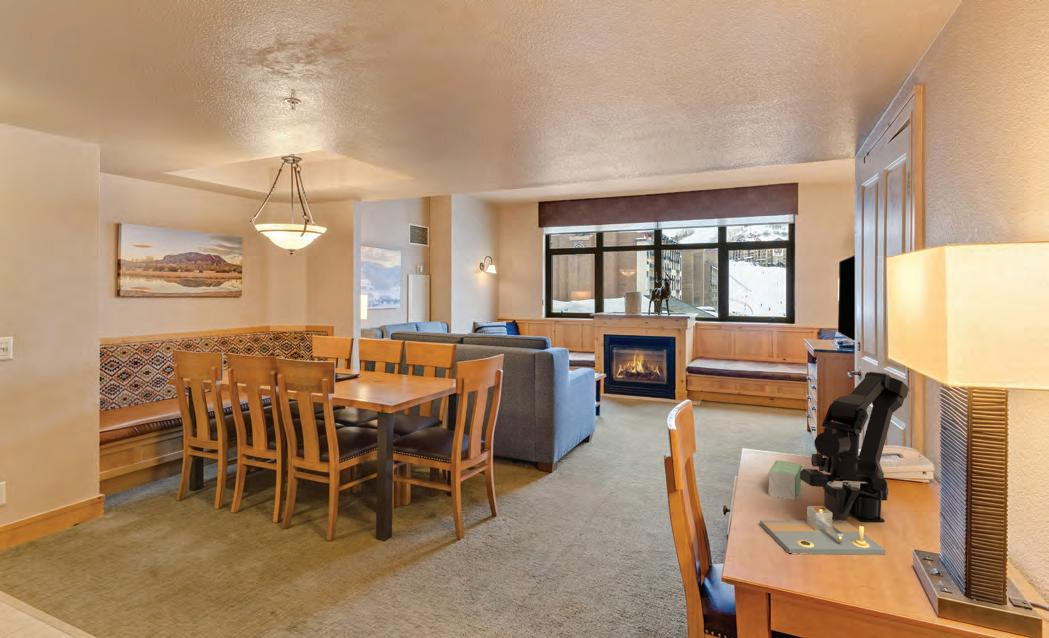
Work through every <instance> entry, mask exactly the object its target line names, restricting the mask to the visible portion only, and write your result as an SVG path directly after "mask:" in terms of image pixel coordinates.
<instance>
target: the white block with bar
mask: <svg viewBox="0 0 1049 638" xmlns="http://www.w3.org/2000/svg"><path fill="white" fill-rule="evenodd" d="M806 510H807V513H806V514H807V515H806V521H807V524H808V525H809V526H811V527H812V528H813V529H814V530H815V531H831V532H832V533H833V534H834V535H836V536H837V537H838V540H837V541H838V542H839V543H842V537H843V533H841V532H840V531H839V530H837V529H836V528H835V527H833V526H832V521H833V519H832V514H833V513H832V512H831V511H829V510H828V509H826V508H825V507H824V505H807V507H806Z"/></svg>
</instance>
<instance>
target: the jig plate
mask: <svg viewBox="0 0 1049 638" xmlns="http://www.w3.org/2000/svg"><path fill="white" fill-rule="evenodd" d="M759 525H760V527H761V528H763V530H765V532H766V533H767V534H768V535H770V537H772V539H773V540H775V541H776V543H778V545H780V546H781V547H782V548H783V550H785V551H786V552H787V553H788V554H789V553H811V554H810V555H869V556H870V555H872V556H873V555H878V556H879V555H880V556H881V555H885V554H886V549H885V548H884V547H882V546H881V545H880V544H878V543H877V542H875V541H874V540H872V539H871V538H870V537H868V536H867V535H865V526H863V525H858V528H856V527H855V526H853V525H852V524H851V523H849V522H847V521H846V520H832V526H833V527H835V528H836V529H837V530H839V531H840V532H841V533H843V537H842V543H839V542H838V541H837V540H838V537H837V536H836V535H834V534H833V533H832V532H831V531H815V530H814V529H813V528H812V527H811V526H809V525H808V524H807V520H779V519H778V520H776V519H775V520H771V519H768V520H765V519H762V520H761V519H760V520H759Z"/></svg>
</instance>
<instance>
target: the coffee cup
mask: <svg viewBox="0 0 1049 638" xmlns="http://www.w3.org/2000/svg"><path fill="white" fill-rule="evenodd" d="M836 479H837V478H836ZM822 489H823V491H824V492H823V495H824V497H823V500H824V503H823V506H824V507H825V508H826V509H828V510H829V511H831V512H832V513H833V514H832V518H833V519H832V520H836V519H837V520H836V521H846V520H847V519H848V518H849V515H850V514H849V512H850V509H851V507H852V504H853V501H854V500H853V501H852V502H851V504H850V505H849V507H848V508H847V510H846V511H845V512H844V514H839V513H838V511H837V508H836V505H835V502H834V498H833V495H832V493H831V491H830V489H829V488H828V487H827V486H825V487H822ZM857 496H858V495H857Z"/></svg>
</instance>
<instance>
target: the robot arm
mask: <svg viewBox="0 0 1049 638" xmlns="http://www.w3.org/2000/svg"><path fill="white" fill-rule="evenodd" d="M908 394H909V387H908V385H907V384H906V383H904V381H903V380H899V379H897V378H894V377H892V376H891V375H890V374H887V373H884V372H878V371H868V372H866V373H865V374H864V378H863V379H862V380H861V381H860V382H859V384H857V386H855V388H854V389H853V390H852V391H851V392H850V393H849V394H848V395H847V394H846V395H843V396H839V397H837V398H836V399H834V400H833V401H832V402H831V403H830V405H829V407H828V409H827V411H826V413H825V416H824V419H823V422H822V423H821V426H822V428H823V432H820V433H819V434H817V436H816V437H815V438H814V447H815V449H816V451H817V452H818V453H811V460H810V461H811V466H812V467H815V468H816V467H817V469H814V468H813V469H812V468H802V469H801V472H800V479H801V481H802V482H804V483H806V484H807V485H809V486H811V487H817V488H818V487H820V488H823V487H825V486H827V487H828V488H829V489H830V491H831V493H832V495H833V498H834V502H835V505H836V508H837V511H838V513H839V514H844V512H845V511H846V510H847V508H848V507H849V505H850V504H851V502H852V501H853V500H854V501H853V504H852V507H851V509H850V512H849V515H851V516H852V517H853V518H855V519H856V520H858V521H859V522H863V523H867V522H869V523H870V522H872V523H876V522H877V523H880V522H881V523H884V522H885V521H886V520H885V519H884V518H883V517H881V516H882V513H881V512H882V501H888V496H889V486H888V481H887V480H886V479H885V473H884V471H883V468H882V466H881V464H880V463H881V458H882V454H883V451H884V448H885V443H886V439H887V436H888V432H889V428H890V424H891V420H892V417H893V414H894V413H895V412H896V411H897V410H898V409H899V408H901V407H902V406H903V403H904V401H905V399H907V396H909V395H908ZM870 405H872V409H871V411H870V415H869V414H868V410H867V409H868V408H869V407H870ZM868 418H869V419H868ZM867 421H868V423H867V425H866V422H867ZM865 425H866V426H867V427H866V430H865V432H864V436H863V441H862V444H861V447H860V434H862V430H863V429H864V426H865ZM859 448H860V451H859ZM824 472H826V474H825V473H824ZM836 478H837V479H836ZM857 495H858V496H857Z"/></svg>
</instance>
